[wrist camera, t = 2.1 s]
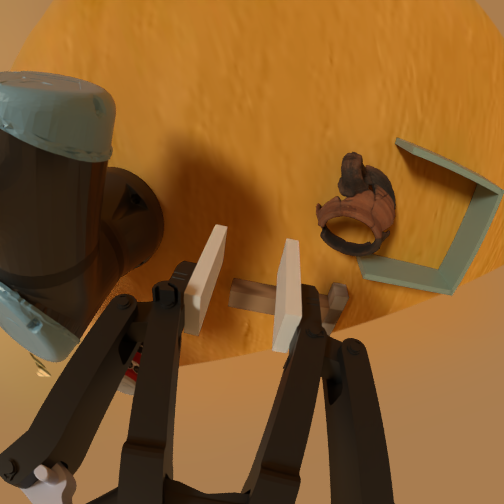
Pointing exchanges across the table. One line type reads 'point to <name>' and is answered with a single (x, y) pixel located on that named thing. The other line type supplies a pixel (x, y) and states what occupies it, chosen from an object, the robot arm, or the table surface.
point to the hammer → (265, 299)
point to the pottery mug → (359, 205)
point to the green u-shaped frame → (461, 247)
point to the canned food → (131, 374)
